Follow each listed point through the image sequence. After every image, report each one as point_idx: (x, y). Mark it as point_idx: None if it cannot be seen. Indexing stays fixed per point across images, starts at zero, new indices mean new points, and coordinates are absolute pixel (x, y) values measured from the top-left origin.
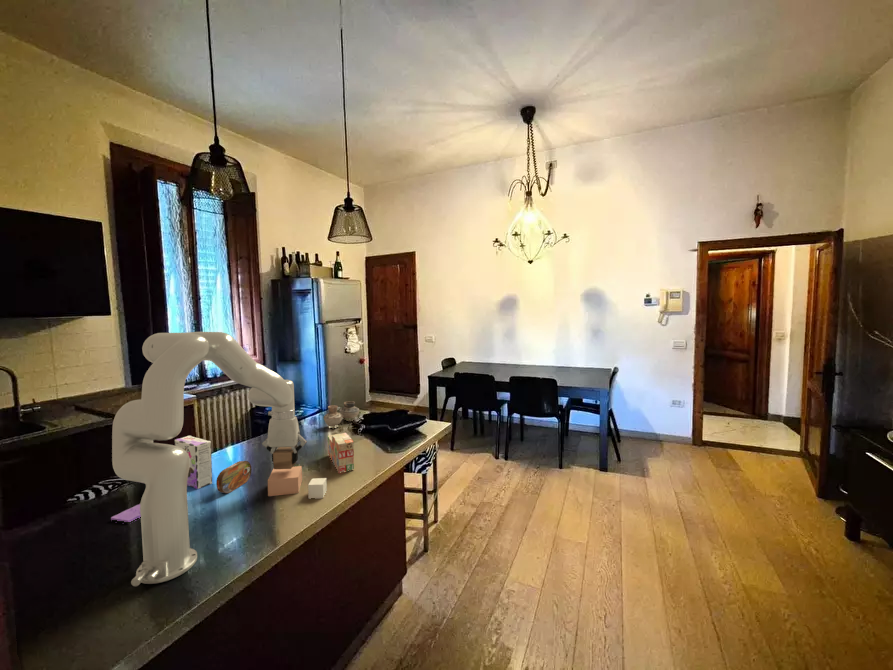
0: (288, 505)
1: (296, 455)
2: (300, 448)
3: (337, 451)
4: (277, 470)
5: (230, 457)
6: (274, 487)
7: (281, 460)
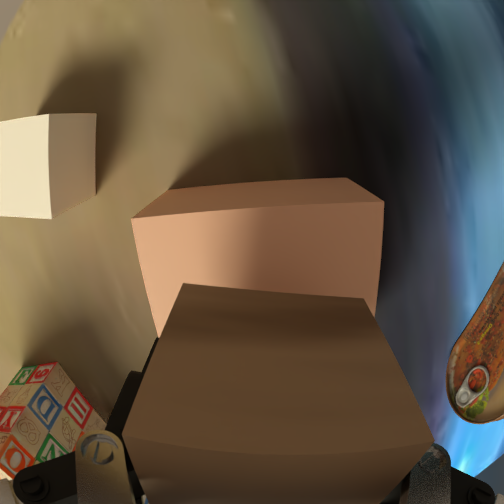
0: (191, 40)
1: (112, 414)
2: (29, 466)
3: (23, 441)
4: None
5: (462, 468)
6: (318, 188)
7: (291, 356)
